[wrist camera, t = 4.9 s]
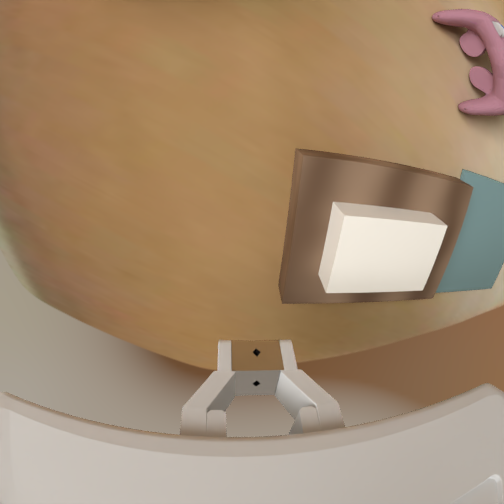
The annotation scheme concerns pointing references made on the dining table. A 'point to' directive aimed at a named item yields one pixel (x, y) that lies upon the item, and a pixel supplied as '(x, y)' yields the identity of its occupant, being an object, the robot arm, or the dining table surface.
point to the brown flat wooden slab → (367, 193)
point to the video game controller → (475, 44)
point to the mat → (478, 238)
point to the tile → (379, 249)
